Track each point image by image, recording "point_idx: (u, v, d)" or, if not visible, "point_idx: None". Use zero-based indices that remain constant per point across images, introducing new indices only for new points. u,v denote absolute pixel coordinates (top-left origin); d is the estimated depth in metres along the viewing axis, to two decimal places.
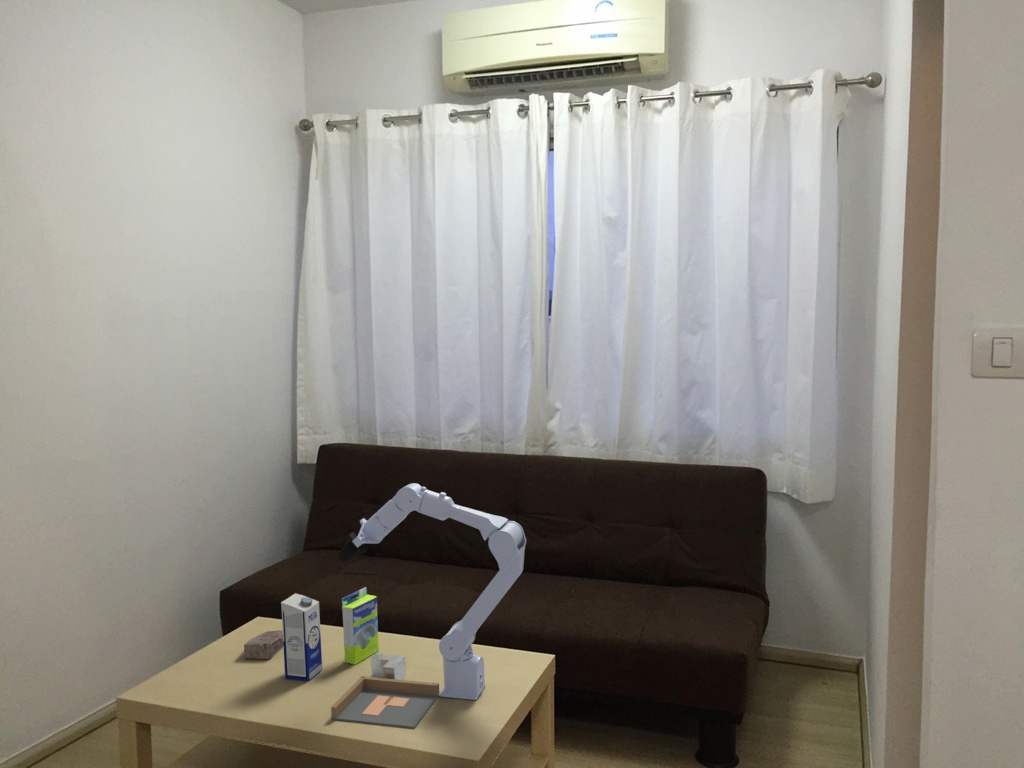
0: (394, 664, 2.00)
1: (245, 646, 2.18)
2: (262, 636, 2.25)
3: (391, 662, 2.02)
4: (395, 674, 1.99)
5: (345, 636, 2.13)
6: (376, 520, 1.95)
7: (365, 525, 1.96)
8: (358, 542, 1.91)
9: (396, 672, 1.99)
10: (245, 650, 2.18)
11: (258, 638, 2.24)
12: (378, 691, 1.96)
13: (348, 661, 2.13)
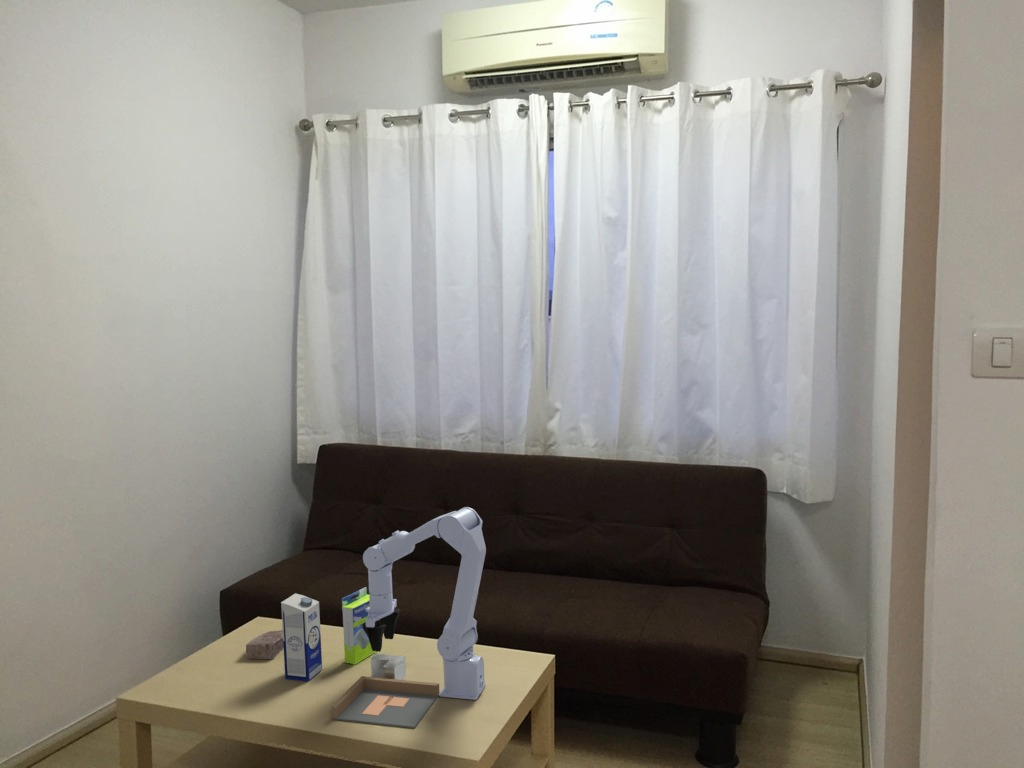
0: (394, 664, 2.00)
1: (247, 646, 2.18)
2: (264, 636, 2.25)
3: (391, 662, 2.02)
4: (395, 674, 1.99)
5: (345, 636, 2.13)
6: (372, 596, 2.01)
7: (370, 609, 2.03)
8: (370, 622, 1.97)
9: (396, 672, 1.99)
10: (247, 650, 2.18)
11: (260, 638, 2.24)
12: (378, 691, 1.96)
13: (348, 661, 2.13)
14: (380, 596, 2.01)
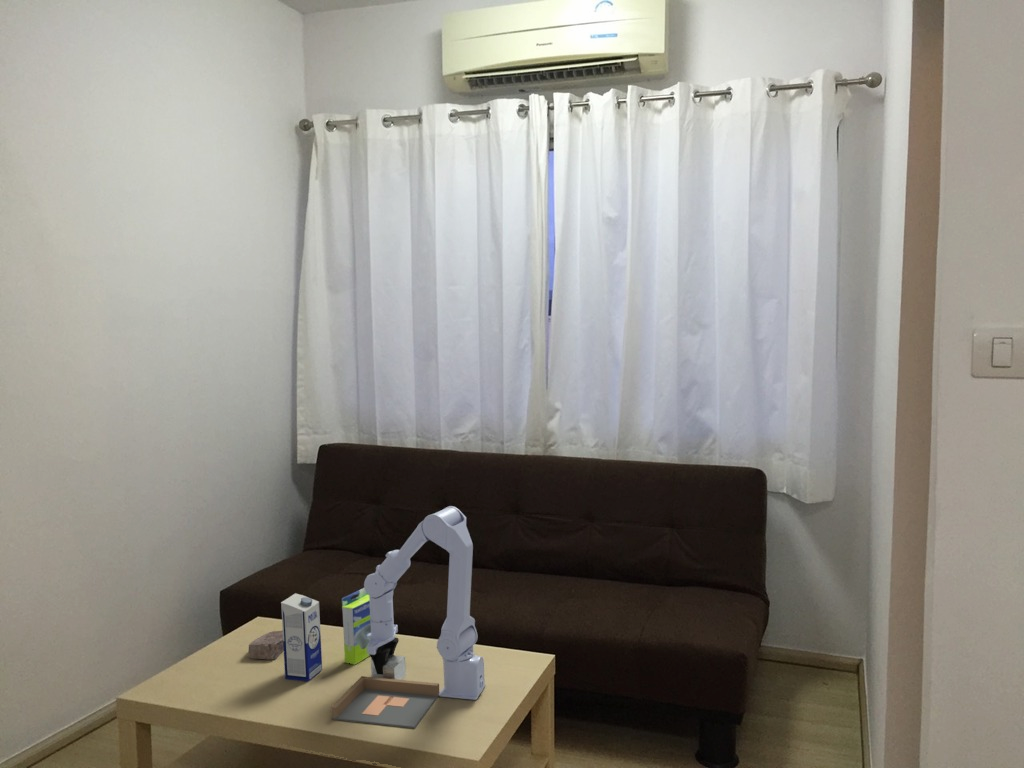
0: (394, 664, 2.00)
1: (250, 646, 2.18)
2: (266, 636, 2.25)
3: (391, 662, 2.02)
4: (395, 674, 1.99)
5: (345, 636, 2.13)
6: (373, 623, 2.02)
7: (371, 635, 2.03)
8: (371, 650, 1.98)
9: (396, 672, 1.99)
10: (250, 650, 2.18)
11: (262, 638, 2.24)
12: (378, 691, 1.96)
13: (348, 661, 2.13)
14: (381, 623, 2.01)
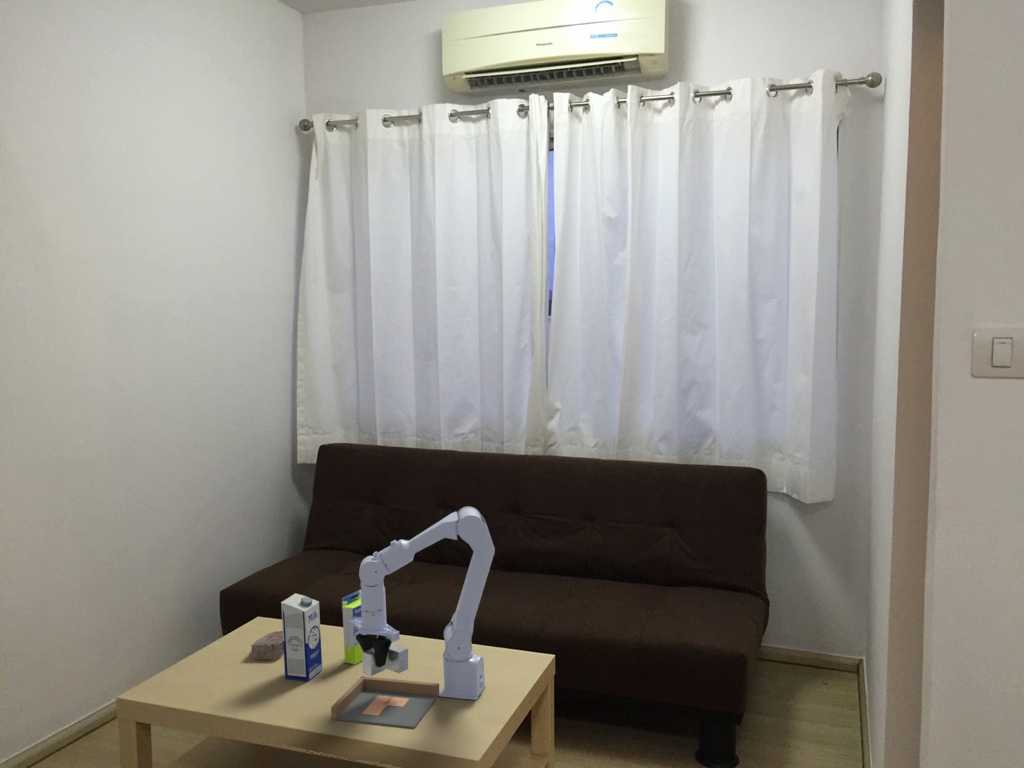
0: (400, 647, 1.94)
1: (253, 647, 2.18)
2: (269, 636, 2.24)
3: (393, 648, 1.94)
4: None
5: (345, 636, 2.13)
6: (377, 613, 1.89)
7: (373, 628, 1.89)
8: (397, 635, 1.88)
9: None
10: (253, 651, 2.17)
11: (265, 638, 2.24)
12: (378, 691, 1.96)
13: (348, 661, 2.13)
14: (384, 609, 1.91)
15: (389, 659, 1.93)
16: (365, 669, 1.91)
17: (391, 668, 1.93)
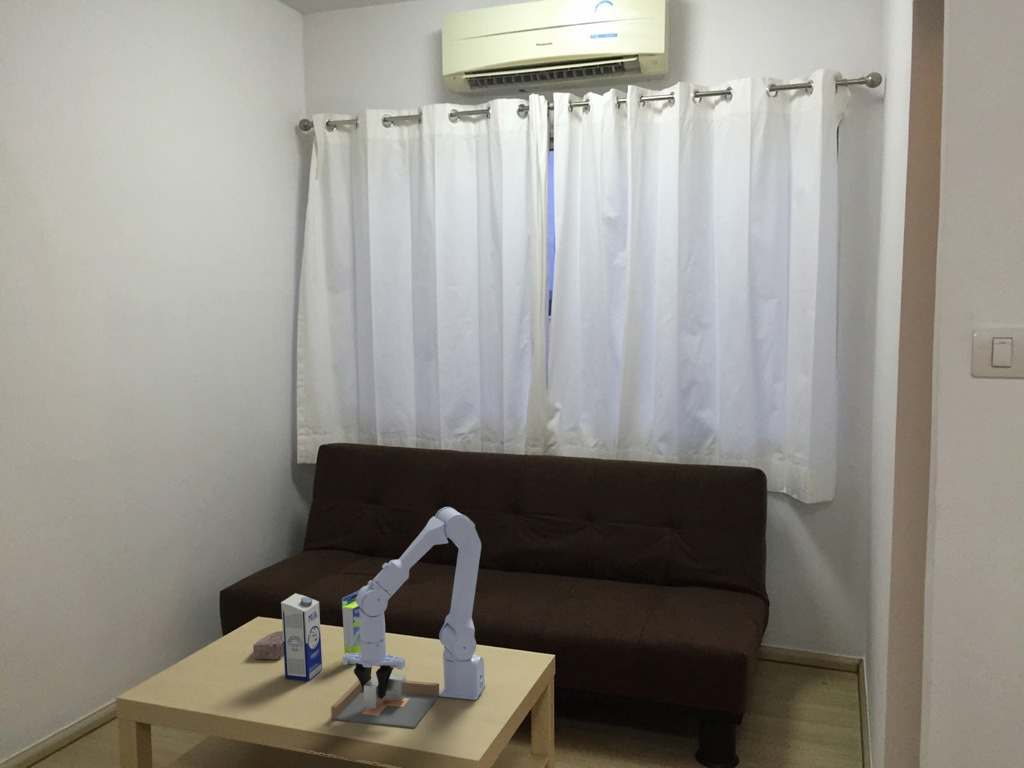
0: (397, 675, 1.91)
1: (254, 647, 2.18)
2: (271, 636, 2.24)
3: (391, 677, 1.90)
4: None
5: (345, 636, 2.13)
6: (381, 643, 1.85)
7: (377, 659, 1.84)
8: (403, 662, 1.85)
9: None
10: (254, 651, 2.17)
11: (267, 638, 2.23)
12: None
13: None
14: (385, 638, 1.87)
15: (388, 689, 1.89)
16: (367, 702, 1.85)
17: (391, 698, 1.89)
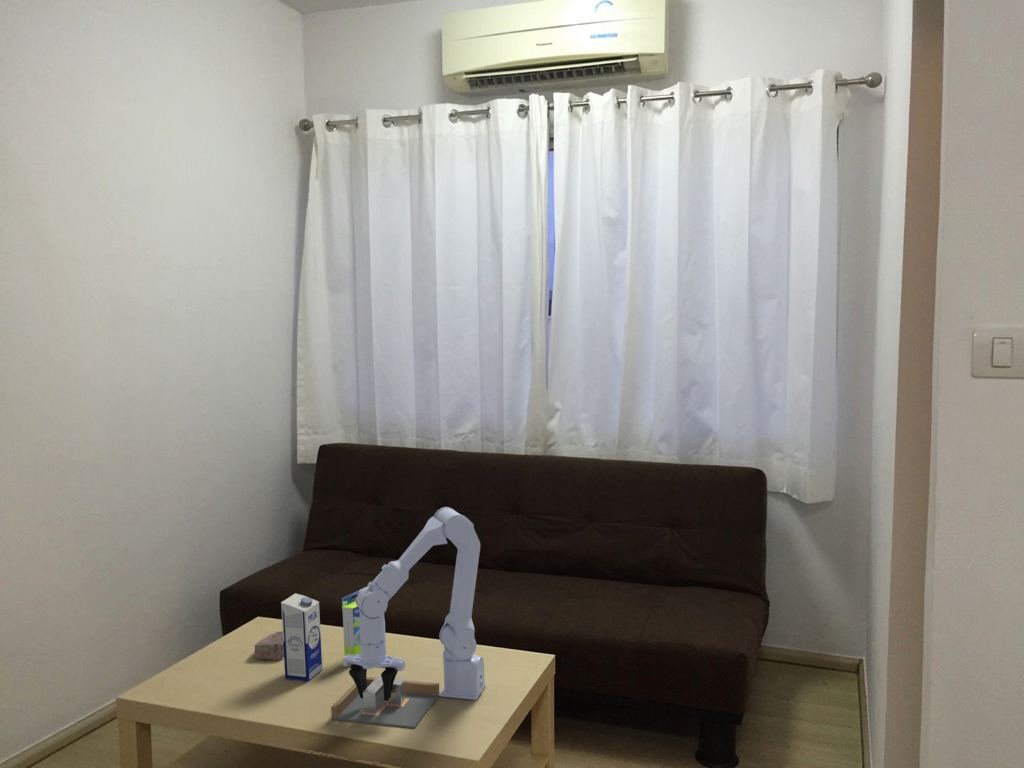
0: (396, 679, 1.91)
1: (256, 647, 2.17)
2: (272, 636, 2.24)
3: None
4: None
5: (345, 636, 2.13)
6: (381, 645, 1.85)
7: (377, 661, 1.84)
8: (403, 664, 1.85)
9: None
10: (256, 651, 2.17)
11: (268, 639, 2.23)
12: None
13: None
14: (385, 640, 1.87)
15: None
16: (367, 708, 1.85)
17: (390, 702, 1.89)
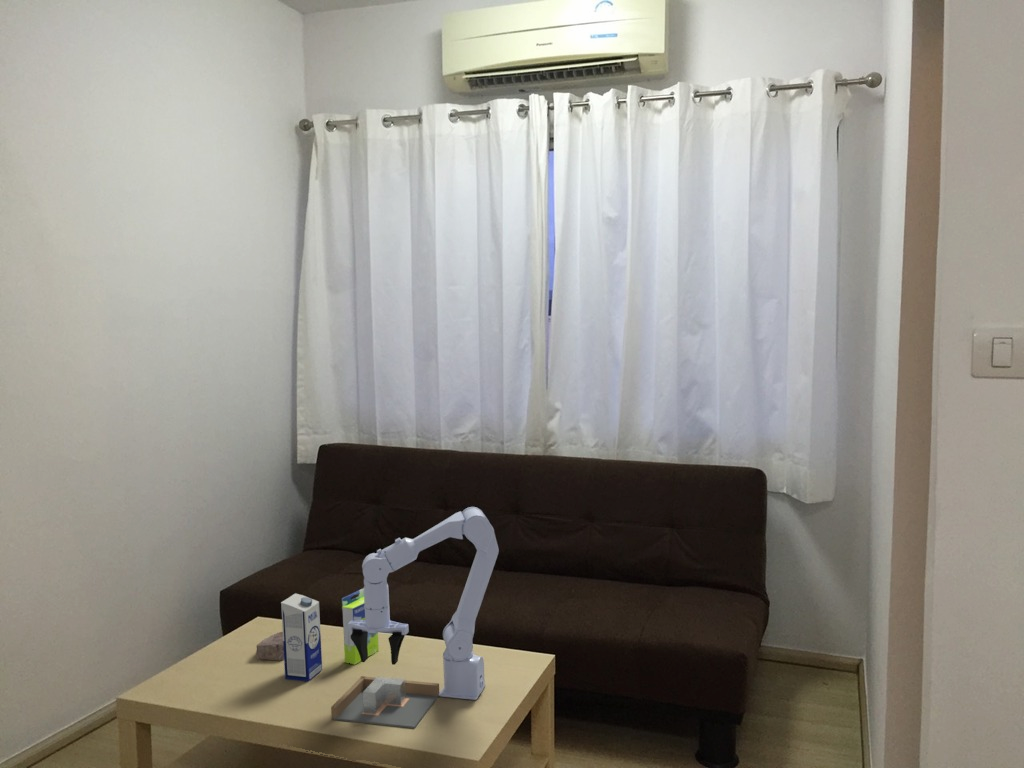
0: (396, 679, 1.91)
1: (258, 647, 2.17)
2: (274, 637, 2.24)
3: (390, 681, 1.90)
4: None
5: (345, 636, 2.13)
6: (385, 609, 1.89)
7: (381, 625, 1.89)
8: (407, 628, 1.90)
9: None
10: (258, 651, 2.17)
11: (270, 639, 2.23)
12: None
13: (348, 661, 2.13)
14: None
15: (387, 694, 1.89)
16: (367, 708, 1.85)
17: (390, 702, 1.89)
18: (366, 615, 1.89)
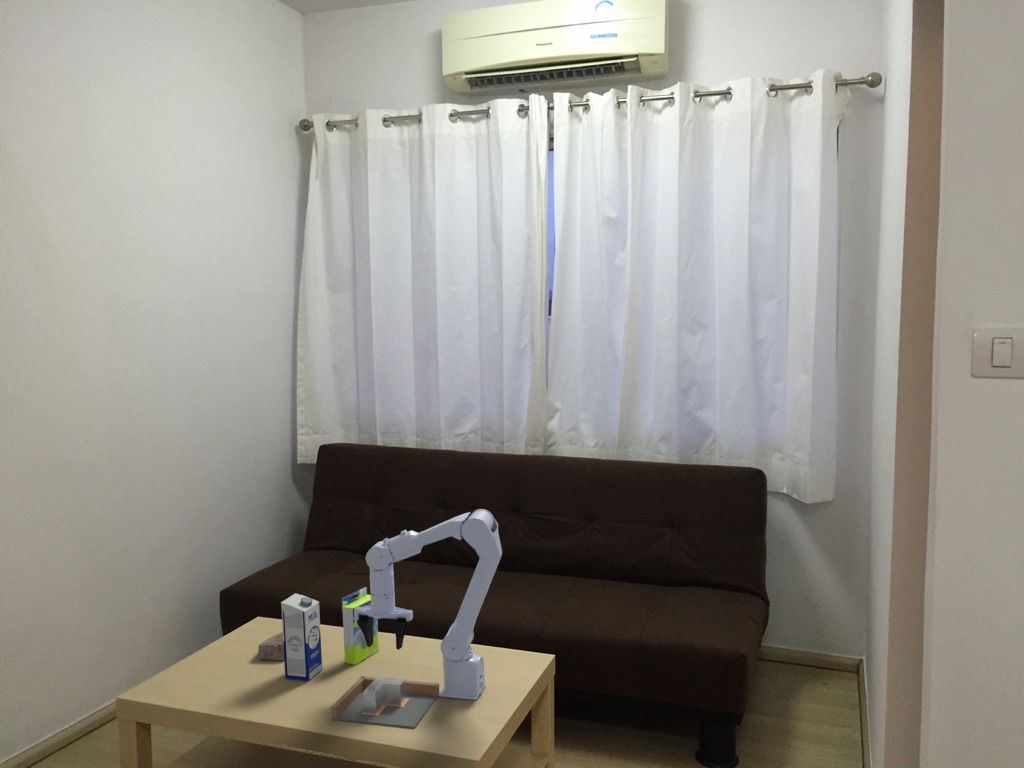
0: (396, 679, 1.91)
1: (259, 647, 2.17)
2: (277, 637, 2.24)
3: (390, 681, 1.90)
4: None
5: (345, 636, 2.13)
6: (390, 596, 1.95)
7: (386, 611, 1.95)
8: (411, 614, 1.96)
9: None
10: (259, 651, 2.17)
11: (273, 639, 2.23)
12: None
13: (348, 661, 2.13)
14: (394, 592, 1.97)
15: (387, 694, 1.89)
16: (367, 708, 1.85)
17: (390, 702, 1.89)
18: (372, 601, 1.95)
